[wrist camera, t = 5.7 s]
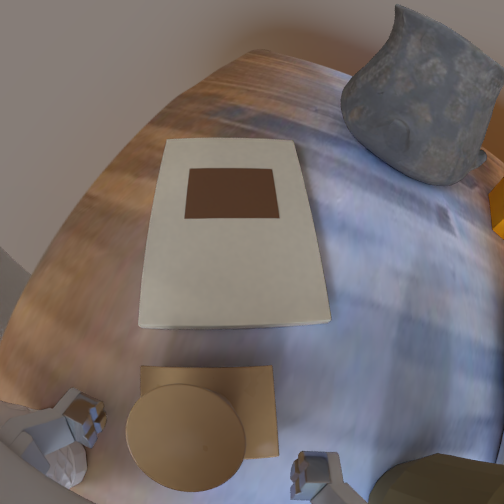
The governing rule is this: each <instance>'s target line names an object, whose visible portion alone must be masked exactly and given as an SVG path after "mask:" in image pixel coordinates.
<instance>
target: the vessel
mask: <svg viewBox="0 0 504 504" xmlns="http://www.w3.org/2000/svg"><path fill="white" fill-rule="evenodd" d="M503 85H504V68H503V67H502V66H501V65H499V64H498V63H497V62H496V61H494V60H493V59H491V58H490V57H489V56H487V55H486V54H484V53H483V52H482V51H481V50H480V49H479V48H478V47H476V46H475V45H474V44H472V43H471V42H470V41H468V40H467V39H465V38H464V37H462V36H461V35H459V34H458V33H456V32H454V31H453V30H452V29H450V28H448V27H447V26H445V25H444V24H442V23H440V22H438V21H435V20H434V19H432V18H430V17H428V16H425V15H422V14H420V13H418V12H416V11H414V10H411V9H409V8H406V7H404V6H401V5H399V4H396V5H395V20H394V25H393V29H392V32H391V34H390V37H389V39H388V40H387V42H386V43H385V45H384V46H383V47H382V48H381V49H380V50H379V52H378V53H377V54H376V55H375V56H374V57H373V58H372V59H371V60H370V61H369V63H367V64H366V65H365V67H363V68H362V69H361V70H360V71H358V72H357V73H356V74H355V75H354V76H353V77H352V78H351V79H350V81H349V82H348V83H347V85H346V86H345V87H344V89H343V92H342V96H341V110H342V114H343V118H344V121H345V123H346V125H347V128H348V129H349V130H350V132H351V133H352V134H353V136H354V137H355V138H356V139H357V140H358V141H359V142H360V143H361V144H362V145H364V146H365V147H366V148H367V149H369V150H370V151H371V152H372V153H374V154H375V155H376V156H377V157H379V158H380V159H382V160H383V161H385V162H386V163H387V164H389V165H390V166H392V167H393V168H395V169H396V170H398V171H400V172H402V173H403V174H405V175H407V176H409V177H411V178H413V179H416V180H418V181H421V182H424V183H427V184H430V185H440V186H448V185H452V184H455V183H456V182H458V181H460V180H461V179H463V178H464V177H465V176H466V175H467V174H468V173H469V172H470V171H471V170H473V169H475V168H477V167H479V166H480V165H481V164H483V163H484V162H485V161H486V159H487V155H486V153H485V152H484V151H483V150H480V148H481V145H482V143H483V140H484V137H485V134H486V131H487V127H488V124H489V122H490V119H491V116H492V111H493V108H494V105H495V102H496V99H497V97H498V95H499V92H500V90H501V88H502V87H503Z"/></svg>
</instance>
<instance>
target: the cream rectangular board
mask: <svg viewBox="0 0 504 504" xmlns="http://www.w3.org/2000/svg"><path fill="white" fill-rule="evenodd" d="M329 321H331V313H330V307H329V301H328V295H327V289H326V283H325V278H324V272H323V267H322V262H321V257H320V251H319V246H318V242H317V237H316V232H315V227H314V223H313V218H312V214H311V209H310V205H309V200H308V196H307V192H306V188H305V184H304V180H303V175H302V171H301V168H300V164H299V160H298V156H297V152H296V148H295V145H294V141H293V140H278V139H258V138H185V139H167V142H166V146H165V150H164V154H163V158H162V163H161V167H160V172H159V176H158V181H157V186H156V191H155V196H154V201H153V207H152V212H151V218H150V224H149V230H148V237H147V244H146V251H145V258H144V266H143V275H142V284H141V295H140V306H139V320H138V325H139V326H140V327H141V328H153V329H244V328H268V327H286V326H300V325H313V324H325V323H328V322H329Z"/></svg>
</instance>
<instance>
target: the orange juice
mask: <svg viewBox="0 0 504 504" xmlns="http://www.w3.org/2000/svg"><path fill="white" fill-rule="evenodd" d="M488 195H489V202H490V211H491V220H492V230H493V231H494V232H496V233H497V234H498V235H499V236H500V237H501V238H502V239H503V240H504V177H503V178H502V179H501V181H500V182H499V183H498V184H497V185H496V186H495V188H494V189H493V190H492V191H491V192H490V193H489V194H488Z"/></svg>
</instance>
